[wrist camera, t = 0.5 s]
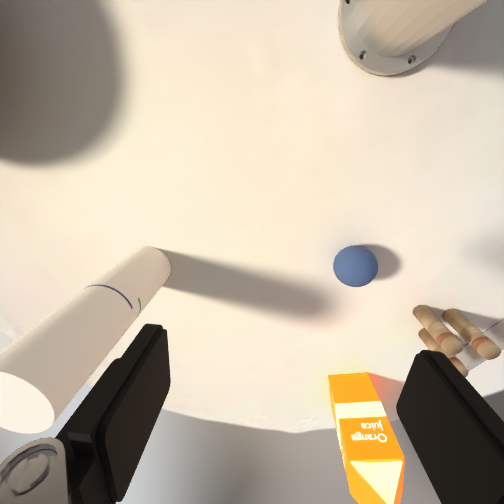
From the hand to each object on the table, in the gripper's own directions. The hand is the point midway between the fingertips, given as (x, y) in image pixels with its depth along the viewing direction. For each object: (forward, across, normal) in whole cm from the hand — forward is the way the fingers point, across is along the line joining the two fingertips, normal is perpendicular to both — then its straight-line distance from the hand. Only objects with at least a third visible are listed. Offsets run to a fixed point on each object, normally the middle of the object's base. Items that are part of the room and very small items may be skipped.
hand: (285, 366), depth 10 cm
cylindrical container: (+31, +20, +12) cm, 38 cm away
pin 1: (+30, -29, +20) cm, 46 cm away
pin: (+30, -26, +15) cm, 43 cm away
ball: (+27, -13, +7) cm, 31 cm away
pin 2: (+30, -31, +16) cm, 46 cm away
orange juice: (+31, -18, +35) cm, 50 cm away
